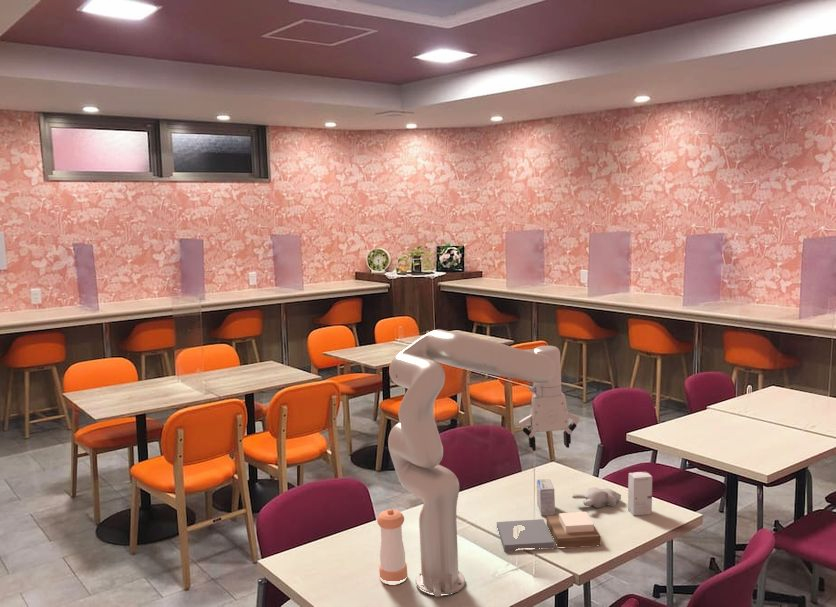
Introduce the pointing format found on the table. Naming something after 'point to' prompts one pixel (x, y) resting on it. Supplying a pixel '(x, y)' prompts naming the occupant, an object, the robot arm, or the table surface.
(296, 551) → the table surface
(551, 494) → the medicine box
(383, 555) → the pepper shaker
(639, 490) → the skincare box
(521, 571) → the table surface
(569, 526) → the coaster
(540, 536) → the mat
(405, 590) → the table surface
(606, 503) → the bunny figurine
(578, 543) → the serving board
